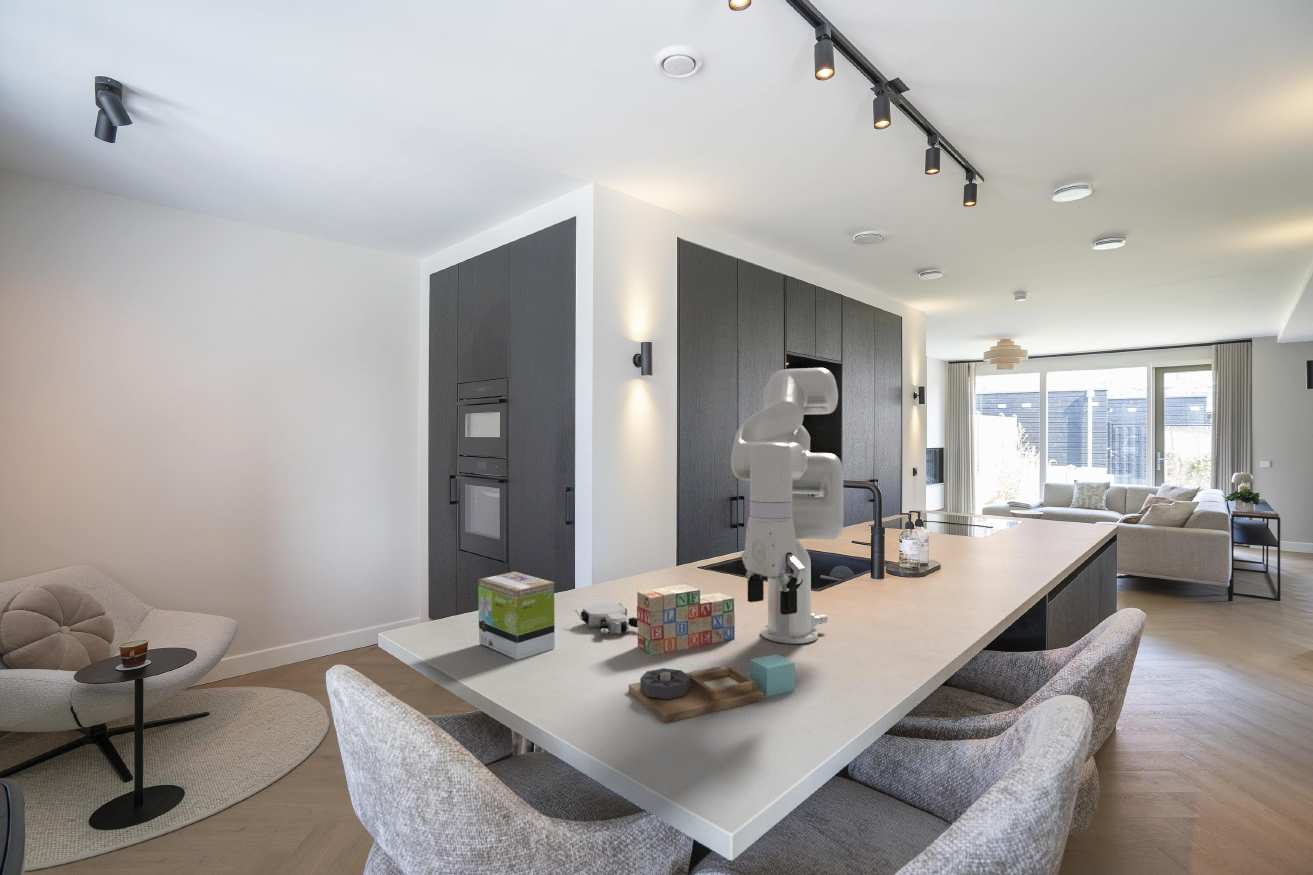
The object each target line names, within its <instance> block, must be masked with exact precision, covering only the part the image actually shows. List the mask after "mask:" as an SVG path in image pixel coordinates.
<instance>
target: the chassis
mask: <svg viewBox="0 0 1313 875" xmlns="http://www.w3.org/2000/svg"><path fill="white" fill-rule="evenodd" d="M685 673H686V674H687V675H689V676H690V689H689V691H688V692H687V693H686V695H685V696H680V697H676V698H671V699H662V698H655V697H648V696H647V695H646V694H645V693H644V692H643V691H641V690H640V682H636V683H631V684H628V692H629V693H630V694H631V695H633V696H634V698H636V699H637V700H638V701H639V702H640V703H641V704H643V705H644V706H645V707H646V708H647V709H649V711H650V712H652V713H653V714H654V715H655V716H656V717H657V718H658V719H659V720H661V721H662V722H663V723H664V724H665V723H670V722H675V721H679V720H683V719H687V718H692V717H696V716H701V715H704V714H709V713H714V712H717V711H721V710H722V711H723V710H725V709H726V710H727V709H730V708H734V707H739V706H743V705H747V704H752V703H757V702H761V701H764V694H763V693H762V692H761V691H759V690H757V689H756V682H755V681H754V680H752V679H750V677H749V676H746V674H744V673H742V672H740V671H739V670H737V669H735V668H733V667H732V666H727V667H723V668H722V667H721V666H716V667H712V668H707V669H706V668H705V669H702V670H696V671H691V672H685ZM660 680H662V681H668V680H671V674H670V672H661V673H660Z"/></svg>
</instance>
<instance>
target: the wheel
mask: <svg viewBox="0 0 1313 875" xmlns="http://www.w3.org/2000/svg"><path fill="white" fill-rule="evenodd" d="M661 672H670V674H671V680H668V681H662V680H660V673H661ZM686 673H687V672H684V671H683V670H682V669H681V670H680V669H673V668H665V667H664V668H658V669H653V670H647V671H646V672H645V673H644V674H643V675H641V677H640V680H639V681H640V690H641V691H643V692H644V693H645V694H646V695H647V696H648V697H655V698H662V699H671V698H676V697H680V696H685V695H686V693H687V692H688V691H689V689H690V676H689V675H687V674H686Z"/></svg>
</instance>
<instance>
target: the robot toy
mask: <svg viewBox="0 0 1313 875" xmlns="http://www.w3.org/2000/svg"><path fill="white" fill-rule="evenodd" d="M574 611H575V612H576V614H577V615H578V617H579V619H580V620H581V621H583V623H585V624H587V625H588V626H590V627H592V628H598V627H599V630H600V633H601V634H608V633H610V634H611V635H621V634H623V633H628V632H629V630H630V629H629V626H630V627H634V628H637V629H638V622H637V617H630V618H629V617H628V609H627V608H626V607H624V605H623V604H622V603H621V601H618V602H617V603H616V602H602V603H594V604H591V605H587V606H585V607H584V608H583V609H582V611H581V612H580V613H579V612H578V609H576V608H574Z"/></svg>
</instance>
